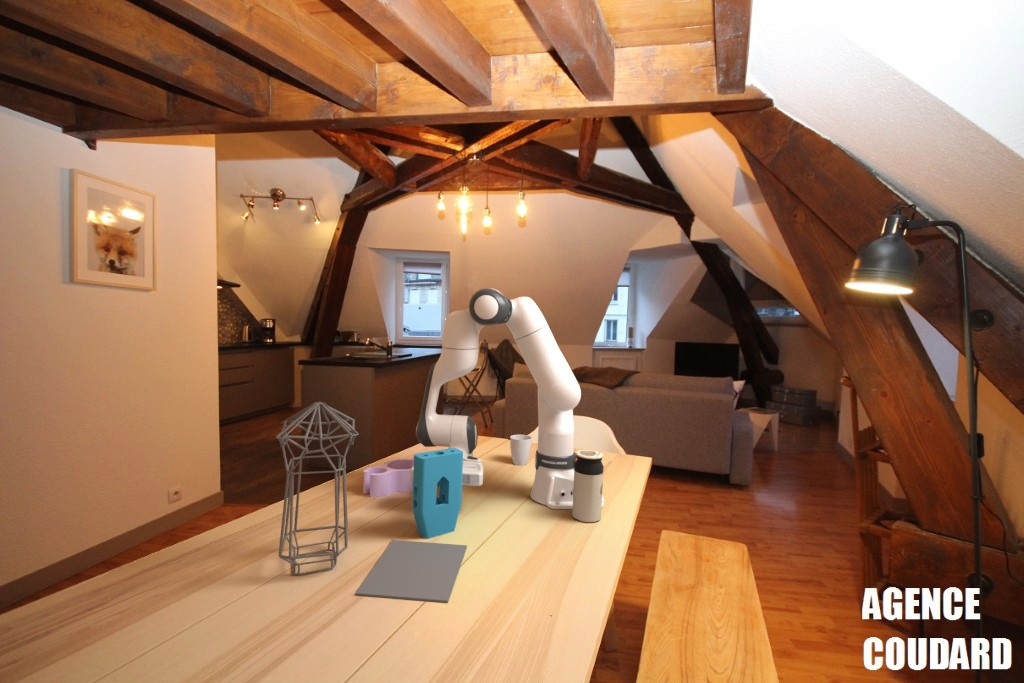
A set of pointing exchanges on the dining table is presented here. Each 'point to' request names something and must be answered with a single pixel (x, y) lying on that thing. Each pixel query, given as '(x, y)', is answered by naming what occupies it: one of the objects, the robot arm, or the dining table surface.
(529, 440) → the cup
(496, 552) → the dining table surface
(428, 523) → the block
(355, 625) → the dining table surface
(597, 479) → the travel mug
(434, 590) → the mat
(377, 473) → the clip
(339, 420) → the geometric lantern
